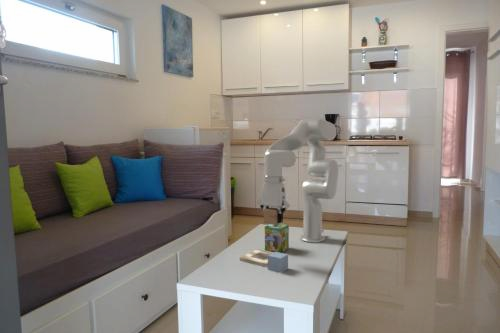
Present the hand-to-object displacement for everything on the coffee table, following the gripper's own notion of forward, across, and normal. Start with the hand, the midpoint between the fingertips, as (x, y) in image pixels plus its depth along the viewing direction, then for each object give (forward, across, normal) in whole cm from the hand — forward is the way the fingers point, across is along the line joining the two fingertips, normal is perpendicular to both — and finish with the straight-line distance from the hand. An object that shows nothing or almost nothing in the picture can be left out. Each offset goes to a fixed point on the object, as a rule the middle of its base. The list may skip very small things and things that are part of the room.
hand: (273, 220), depth 160 cm
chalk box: (+18, +7, -15) cm, 24 cm away
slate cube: (+18, -7, +7) cm, 20 cm away
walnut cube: (+1, 0, 0) cm, 1 cm away
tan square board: (+18, +5, +1) cm, 18 cm away
